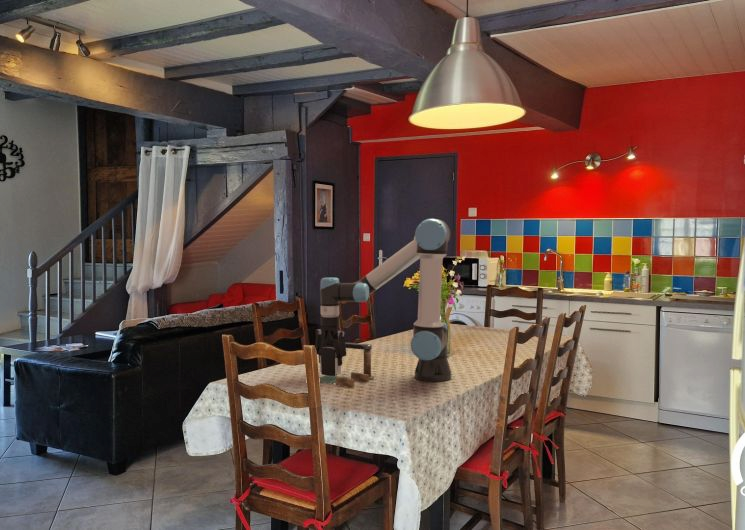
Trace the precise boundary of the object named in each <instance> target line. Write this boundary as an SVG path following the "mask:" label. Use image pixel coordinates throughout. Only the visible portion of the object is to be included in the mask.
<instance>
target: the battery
mask: <svg viewBox="0 0 745 530" xmlns="http://www.w3.org/2000/svg"><path fill="white" fill-rule="evenodd" d="M336 357H337V356H336V352H335V349H334V346H326V347H323V348H322V349H321V372H320V374H321V375H322V376H326V375H328V376H338V374H335V358H336Z"/></svg>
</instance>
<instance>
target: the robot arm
mask: <svg viewBox="0 0 745 530" xmlns="http://www.w3.org/2000/svg"><path fill="white" fill-rule="evenodd" d="M450 229H451V228H450V227H449V225H448V224H447V222H445V221H444V220H441V219H437V218H426V219H424V220H423V221H421V222H420V223H419V224H418V225H417V227H416V229H415V232H414V233H415V234H414V237H413V239H412V241H410V242H409V243H408V244H406V245H405V246H403V247H402V248H401V249H399V250H398V251H397V252H395V253H394V254H392V255H391V256H390V257H389V258H387V259H386V260H384V261H383V262H382V263H381V264H379V265H378V266H376V267H375V268H374V269H373V270H371V271H370V272H368V273H367V274H366V275H364V276H363V277H362V278H360V279H359V280H357V281H355V282H340V279H339V278H338V277H322V278H321V279H320V286H319V295H320V326H321V328H318V329H315V330H314V332H315V342H314V348H315V347H316V350H317V356H318V363H319V367H320V368H319V370H320V371H319V372H320V373H321V349H322V348H323V347H327V345H328V341H329V340H330V341H331V343H332V345H333V346H332V347H334V349H335V352H336V356H337V357H336V358H335V374H337V375H339V374H341V373H342V365H343V358H344V357H346V356H347V348H346V346H345V342H346V338H345V337H346V331H342V330H340V329H339V326H340V317H339V315H340V303H341V302H347V303H348V302H350V303H351V302H352V303H353V302H354V303H367V301H368V299H370V298H369V297H371V295H372V294H373V293H374V292H376V291H377V290H378V289H379V288H381V287H382V286H383V285H385V284H386V283H388V282H389V281H391V280H392V279H393V278H395V277H396V276H398V275H399V274H401V272H403V271H404V270H406V269H407V268H409V267H410V266H411V265H413V264H414V263H415V262H417V261H418V260H419V280H418V305H417V319H416V320H415V322H413V329H412V333H413V334H412V337H411V339H410V349H411V350H410V351H411V352H412V353H413V355H414V356H415V357H417V358H418V360H417V363H416V367H415V370H414V379H416V380H418V381H421V382H422V381H423V382H435V383H436V382H437V383H438V382H445V381H450V380H451V379H452V375H453V374H452V371H451V367H450V364H449V361H448V330H449V329H448V324H447V323H446V322H442V321H441V305H442V304H441V300H442V284H443V283H442V281H443V260H444V258H445V257H446V256H447V255H448V253H447V252H448V243H449V241H450V239H451V230H450Z"/></svg>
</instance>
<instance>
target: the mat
mask: <svg viewBox="0 0 745 530" xmlns="http://www.w3.org/2000/svg"><path fill="white" fill-rule="evenodd" d="M336 377H341V378H347V379H349V378H348V377H345V376H338V375H336V376H328V375H322V376H320V377H319V378H320V382H319V383H322V384H323V383H325V384H328V383H331V384H330V385H334V383H335V384H336Z"/></svg>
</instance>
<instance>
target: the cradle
mask: <svg viewBox="0 0 745 530" xmlns="http://www.w3.org/2000/svg"><path fill="white" fill-rule="evenodd" d="M341 377H342V376H339V377H336V383H335V386H338V385H340V386H339V387H344V386H346V387H345V388H350V387H351V388H350V389H354V388H355V382H360V381H361V383H366V384H367V383H370V381H371V380H374V378H375V377H374V375H372V350H363V373H362V372H361V373H360V372H355V371H354V372H353V371H352V372H350V378H348V377H346V378H341ZM347 378H348V379H347ZM354 380H355V381H354Z"/></svg>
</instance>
